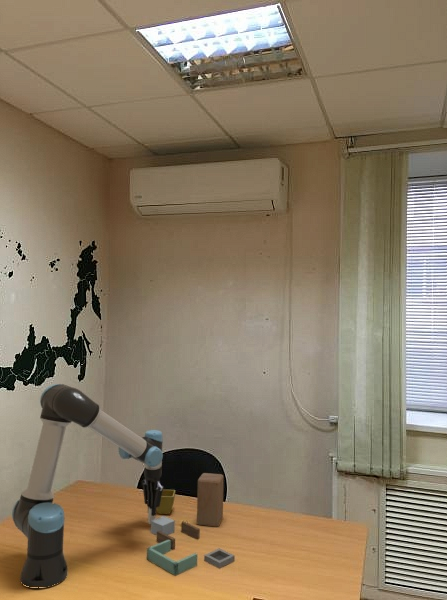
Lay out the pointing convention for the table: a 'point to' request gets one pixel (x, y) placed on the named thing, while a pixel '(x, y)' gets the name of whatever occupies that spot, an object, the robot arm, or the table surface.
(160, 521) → the block
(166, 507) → the flower pot
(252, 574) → the table surface
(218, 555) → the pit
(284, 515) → the table surface
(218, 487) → the wooden block
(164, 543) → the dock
